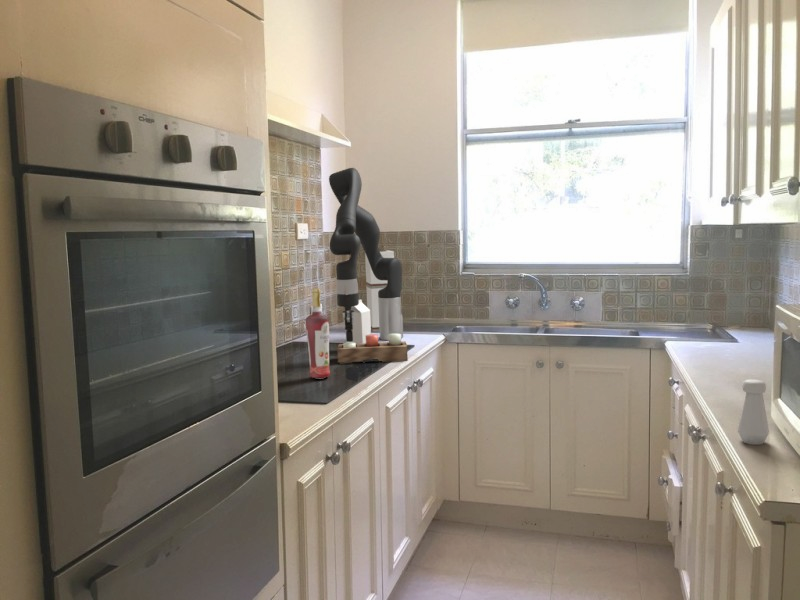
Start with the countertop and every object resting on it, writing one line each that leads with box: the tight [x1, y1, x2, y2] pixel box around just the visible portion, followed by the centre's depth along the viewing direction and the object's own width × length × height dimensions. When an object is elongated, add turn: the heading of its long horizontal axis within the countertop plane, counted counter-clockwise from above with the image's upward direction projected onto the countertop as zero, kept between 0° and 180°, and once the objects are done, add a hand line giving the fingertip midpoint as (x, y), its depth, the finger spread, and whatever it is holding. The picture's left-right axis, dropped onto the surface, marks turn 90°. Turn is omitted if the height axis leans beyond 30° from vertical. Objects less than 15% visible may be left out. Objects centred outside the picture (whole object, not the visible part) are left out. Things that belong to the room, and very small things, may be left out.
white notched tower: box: [364, 249, 395, 333], centre depth 305 cm, size 11×11×35 cm
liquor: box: [305, 288, 332, 379], centre depth 213 cm, size 7×7×28 cm
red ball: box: [366, 333, 379, 346], centre depth 240 cm, size 4×4×4 cm
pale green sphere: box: [342, 342, 356, 348], centre depth 240 cm, size 4×4×4 cm
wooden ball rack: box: [337, 340, 409, 363], centre depth 241 cm, size 24×10×5 cm, turn 93°
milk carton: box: [345, 299, 372, 343], centre depth 257 cm, size 7×7×19 cm
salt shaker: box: [737, 378, 770, 446], centre depth 141 cm, size 6×6×13 cm
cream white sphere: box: [388, 333, 402, 345], centre depth 241 cm, size 4×4×4 cm
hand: (349, 341), depth 240 cm, fingers closed
